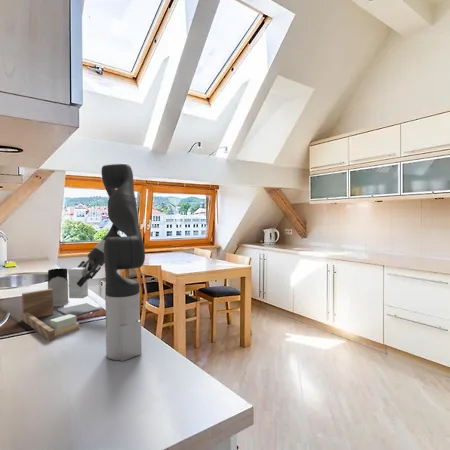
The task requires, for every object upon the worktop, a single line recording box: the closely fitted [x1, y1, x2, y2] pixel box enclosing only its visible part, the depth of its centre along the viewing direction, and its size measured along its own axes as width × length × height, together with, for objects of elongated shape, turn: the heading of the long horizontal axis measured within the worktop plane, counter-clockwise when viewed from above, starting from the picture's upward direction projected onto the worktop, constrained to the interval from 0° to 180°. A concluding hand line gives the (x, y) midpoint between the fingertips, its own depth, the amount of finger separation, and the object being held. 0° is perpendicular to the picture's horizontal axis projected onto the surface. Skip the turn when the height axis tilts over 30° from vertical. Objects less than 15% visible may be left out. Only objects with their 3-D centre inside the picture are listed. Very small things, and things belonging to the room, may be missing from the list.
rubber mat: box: [57, 302, 100, 316], centre depth 130 cm, size 12×12×1 cm
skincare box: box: [67, 267, 89, 299], centre depth 129 cm, size 6×4×12 cm
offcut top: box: [49, 314, 78, 329], centre depth 107 cm, size 4×7×2 cm, turn 149°
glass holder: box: [47, 268, 70, 307], centre depth 141 cm, size 9×14×15 cm, turn 28°
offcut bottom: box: [48, 322, 80, 337], centre depth 107 cm, size 5×8×2 cm, turn 141°
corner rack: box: [21, 288, 55, 342], centre depth 112 cm, size 28×10×10 cm, turn 47°
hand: (74, 284), depth 128 cm, fingers closed on skincare box, 7 cm apart
